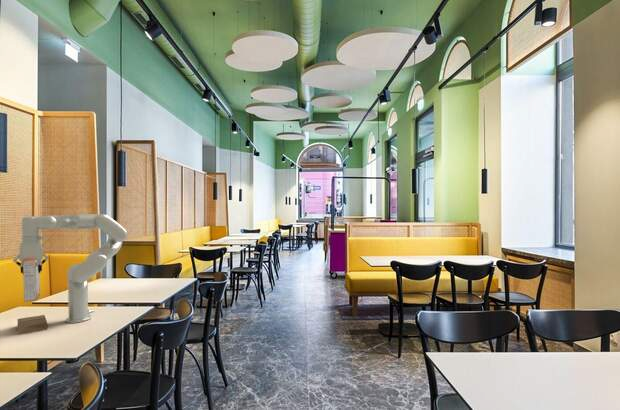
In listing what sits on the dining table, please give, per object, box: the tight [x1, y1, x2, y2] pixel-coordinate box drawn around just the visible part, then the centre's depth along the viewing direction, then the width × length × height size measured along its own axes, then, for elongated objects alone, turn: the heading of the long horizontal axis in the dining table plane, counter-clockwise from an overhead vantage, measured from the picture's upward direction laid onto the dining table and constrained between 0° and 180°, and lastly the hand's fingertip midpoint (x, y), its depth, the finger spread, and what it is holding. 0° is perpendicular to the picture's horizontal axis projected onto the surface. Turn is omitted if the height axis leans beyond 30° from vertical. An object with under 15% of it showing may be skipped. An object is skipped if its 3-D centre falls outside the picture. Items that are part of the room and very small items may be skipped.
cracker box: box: [22, 260, 41, 303], centre depth 207 cm, size 14×6×21 cm, turn 29°
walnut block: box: [17, 314, 48, 335], centre depth 206 cm, size 18×12×4 cm, turn 38°
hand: (31, 273), depth 207 cm, fingers closed on cracker box, 6 cm apart
